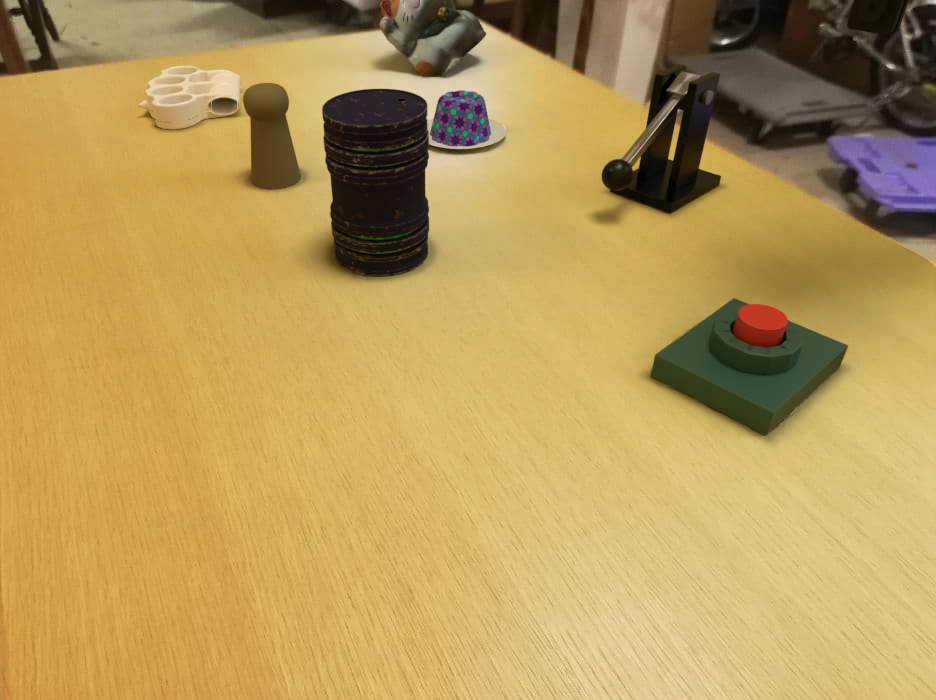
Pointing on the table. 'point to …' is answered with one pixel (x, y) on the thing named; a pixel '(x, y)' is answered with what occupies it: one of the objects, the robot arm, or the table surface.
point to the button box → (747, 368)
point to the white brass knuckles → (191, 95)
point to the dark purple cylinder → (378, 179)
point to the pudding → (463, 122)
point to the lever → (647, 135)
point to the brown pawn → (270, 137)
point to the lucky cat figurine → (430, 32)
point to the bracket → (681, 176)
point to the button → (760, 325)
